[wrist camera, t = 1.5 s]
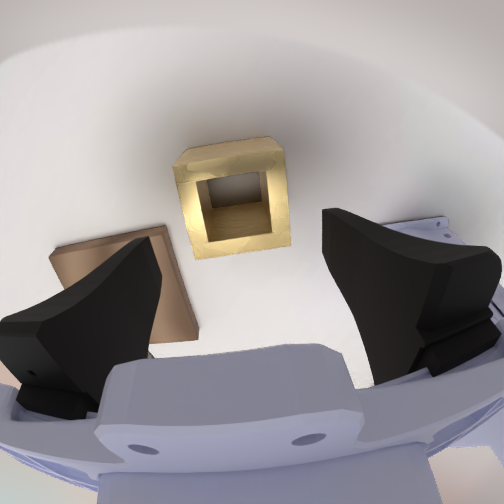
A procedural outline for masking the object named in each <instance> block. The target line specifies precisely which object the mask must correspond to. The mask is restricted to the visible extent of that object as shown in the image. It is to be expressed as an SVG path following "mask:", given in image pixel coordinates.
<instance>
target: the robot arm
mask: <svg viewBox="0 0 504 504" xmlns="http://www.w3.org/2000/svg"><path fill="white" fill-rule="evenodd" d="M437 222H438V223H437ZM448 223H449V220H448V218H446V217H438V218H431V219H423V220H416V221H408V222H401V223H394V224H386V225H379V224H377V223H374V222H372V221H369V220H367V219H365V218H362V217H360V216H358V215H355V214H353V213H351V212H348V211H345V210H343V209H339V208H330V209H322V253H323V256H324V258H325V261H326V264H327V266H328V269H329V271H330V273H331V275H332V277H333V278H334V280H335V282H336V284H337V286H338V288H339V289H340V291H341V293H342V295H343V297H344V298H345V300H346V302H347V304H348V306H349V308H350V310H351V312H352V314H353V316H354V319H355V321H356V324H357V327H358V330H359V332H360V335H361V338H362V341H363V344H364V347H365V350H366V354H367V357H368V361H369V364H370V368H371V372H372V375H373V380H374V384H375V386H373V387H369V388H364V389H355V388H354V385H353V382H352V380H351V377H350V374H349V372H348V369H347V366H346V364H345V361H344V358H343V356H342V354H341V353H339V352H337V351H335V350H332V349H330V348H328V347H326V346H324V345H321V344H316V343H313V344H282V345H276V346H270V347H263V348H257V349H249V350H242V351H234V352H226V353H217V354H207V355H197V356H185V357H171V358H153V359H147V358H148V347H149V341H150V336H151V331H152V327H153V323H154V319H155V315H156V311H157V307H158V303H159V299H160V295H161V287H162V273H161V270H160V267H159V265H158V262H157V259H156V256H155V253H154V250H153V247H152V244H151V241H150V238H149V236H146V237H140V238H136V239H134V240H132V241H130V242H129V243H127V244H126V245H125V246H123V247H122V248H121V249H119V250H118V251H117V252H116V253H114V254H113V255H112V256H111V257H109V258H108V259H107V260H106V261H104V262H103V263H102V264H101V265H99V266H98V267H97V268H95V269H94V270H93V271H91V272H90V273H89V274H88V275H86V276H85V277H83V278H82V279H81V280H79V281H77V282H76V283H74V284H73V285H71V286H70V287H68V288H67V289H65V290H63V291H61V292H60V293H58V294H56V295H54V296H53V297H51V298H49V299H47V300H45V301H43V302H41V303H39V304H37V305H35V306H32V307H30V308H28V309H25V310H23V311H20V312H17V313H15V314H12V315H9V316H6V317H4V318H3V319H2V320H1V321H0V360H1V362H2V363H3V364H4V365H5V366H6V367H7V368H8V370H9V371H10V372H11V373H12V374H13V375H14V376H15V377H16V378H17V379H18V380H19V382H20V383H22V385H21V388H20V390H18V389H17V388H15V387H13V386H10V385H5V384H2V383H0V449H1V450H3V451H4V452H6V453H7V454H9V455H10V456H12V457H13V458H15V459H16V460H18V461H20V462H22V463H23V464H25V465H27V466H29V467H31V468H34V469H36V470H38V471H41V472H43V473H45V474H47V475H50V476H52V477H55V478H58V479H60V480H63V481H65V482H68V483H70V484H73V485H76V486H79V487H82V488H85V489H88V490H91V491H95V492H98V498H97V504H443V503H442V500H441V497H440V494H439V491H438V488H437V484H436V482H435V478H434V476H433V473H432V470H431V467H430V464H429V462H428V459H427V458H429V457H431V456H433V455H435V454H436V453H438V452H440V451H442V450H443V449H445V448H447V447H453V448H454V447H455V448H461V447H477V446H490V447H491V448H492V450H493V451H494V453H495V454H496V456H497V457H498V459H499V460H500V462H501V463H502V465H503V467H504V288H503V287H502V286H501V285H500V284H499V281H500V278H501V272H502V264H501V259H500V258H499V256H498V255H497V254H496V253H495V252H493V251H492V250H491V249H490V248H488V247H486V246H470V245H467V244H466V243H465V242H464V241H463V240H461V239H460V238H459V237H458V236H457V235H455V234H454V233H453V232H452V231H451V230H449V229H448Z"/></svg>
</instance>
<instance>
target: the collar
mask: <svg viewBox="0 0 504 504" xmlns="http://www.w3.org/2000/svg"><path fill="white" fill-rule="evenodd" d="M173 171H174V176H175V180H176V185H177V189H178V194H179V198H180V202H181V206H182V211H183V215H184V219H185V223H186V227H187V231H188V235H189V239H190V242H191V246H192V250H193V254H194V257H195V260H199V259H206V258H213V257H219V256H226V255H233V254H240V253H246V252H253V251H260V250H266V249H273V248H280V247H286V246H291V237H290V221H289V207H288V194H287V181H286V169H285V158H284V149H283V148H282V147H281V146H279V145H278V144H277V143H276V142H275V141H274V140H273V139H271V138H270V137H261V138H253V139H246V140H238V141H232V142H225V143H219V144H213V145H207V146H202V147H196V148H191V149H186V150H185V151H184V153H183V154H182V155H181V156H180V158H179V159H178V160H177V161H176V163H175V164H174V165H173ZM251 172H259V180H260V188H261V197H262V201H260V202H253V203H246V204H239V205H233V206H226V207H220V208H214V209H212V205H211V200H210V195H209V189H208V184H207V179H212V178H218V177H224V176H231V175H237V174H244V173H251Z"/></svg>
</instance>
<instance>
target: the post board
mask: <svg viewBox="0 0 504 504" xmlns="http://www.w3.org/2000/svg"><path fill="white" fill-rule="evenodd" d="M146 236H149V238H150V241H151V244H152V247H153V250H154V253H155V256H156V259H157V262H158V265H159V267H160V270H161V273H162V287H161V295H160V299H159V303H158V307H157V311H156V315H155V319H154V323H153V327H152V331H151V336H150V341H149V344H156V343H170V342H182V341H193V340H198V336H199V327H198V324H197V321H196V319H195V316H194V313H193V310H192V307H191V304H190V302H189V299H188V296H187V293H186V290H185V287H184V284H183V281H182V278H181V274H180V271H179V268H178V265H177V262H176V259H175V255H174V252H173V249H172V245H171V242H170V239H169V235H168V232H167V228H166V226H162V227H156V228H151V229H146V230H140V231H135V232H130V233H125V234H120V235H115V236H110V237H105V238H100V239H96V240H91V241H86V242H82V243H77V244H73V245H68V246H64V247H59V248H56V249H55V250H54V251H53V252H52V254H51V255H50V256H49V257H48V258H49V260H50V262H51V264H52V266H53V268H54V270H55V272H56V274H57V276H58V278H59V280H60V282H61V284H62V286H63V287H64V289H67V288H68V287H70V286H71V285H73V284H74V283H76V282H77V281H79V280H81V279H82V278H83V277H85V276H86V275H88V274H89V273H90V272H91V271H93V270H94V269H95V268H97V267H98V266H99V265H101V264H102V263H103V262H104V261H106V260H107V259H108V258H109V257H111V256H112V255H113V254H114V253H116V252H117V251H118V250H119V249H121V248H122V247H123V246H125V245H126V244H127V243H129V242H130V241H132V240H134V239H136V238H140V237H146Z"/></svg>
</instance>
